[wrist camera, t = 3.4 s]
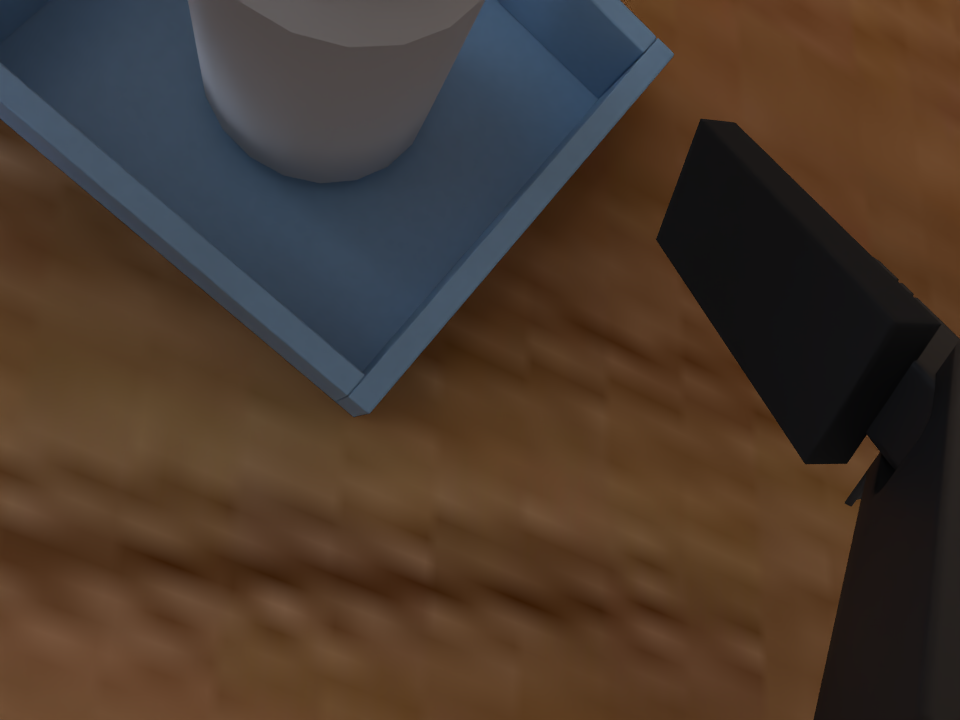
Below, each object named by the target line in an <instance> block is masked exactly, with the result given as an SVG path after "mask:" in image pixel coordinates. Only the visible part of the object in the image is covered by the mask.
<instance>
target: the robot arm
mask: <svg viewBox="0 0 960 720" xmlns="http://www.w3.org/2000/svg"><path fill="white" fill-rule="evenodd" d="M656 240H657V242H658V243H659V245H660V246H661V248H662V249H663V251H664V252H665V254H666V255H667V257H668V258H669V260H670V261H671V263H672V264H673V266H674V267H675V269H676V270H677V272H678V273H679V275H680V276H681V278H682V279H683V281H684V282H685V284H686V285H687V287H688V288H689V290H690V291H691V293H692V294H693V296H694V297H695V299H696V300H697V302H698V303H699V305H700V306H701V308H702V310H703V311H704V313H705V314H706V316H707V317H708V319H709V320H710V322H711V323H712V325H713V326H714V328H715V329H716V331H717V332H718V334H719V335H720V337H721V338H722V340H723V341H724V343H725V344H726V346H727V347H728V349H729V350H730V352H731V353H732V355H733V356H734V358H735V359H736V361H737V362H738V364H739V365H740V367H741V368H742V370H743V371H744V373H745V374H746V376H747V377H748V379H749V380H750V382H751V383H752V385H753V386H754V388H755V389H756V391H757V392H758V394H759V395H760V397H761V398H762V400H763V401H764V403H765V404H766V406H767V407H768V409H769V410H770V412H771V413H772V415H773V416H774V418H775V419H776V421H777V422H778V424H779V425H780V427H781V428H782V430H783V431H784V433H785V434H786V436H787V437H788V439H789V440H790V442H791V443H792V445H793V446H794V448H795V449H796V451H797V453H798V454H799V456H800V457H801V459H802V460H803V462H804V463H805V464H847V463H848V461H849V460H850V458H851V457H852V456H853V454H854V453H855V451H856V450H857V448H858V447H859V445H860V444H861V442H862V441H863V439H864V438H865V436H866V435H868V437H869V438H870V439H871V440H872V442H873V443H874V444H875V446H876V447H877V448H878V450H879V451H880V453H879V454H878V456H877V457H876V459H875V460H874V462H873V463H872V464H871V466H870V467H869V469H868V470H867V471H866V473H865V474H864V476H863V477H862V478H861V480H860V481H859V483H858V484H857V486H856V487H855V488H854V490H853V491H852V493H851V494H850V495H849V497H848V498H847V500H846V501H845V504H847V505H849V506H852V505H853V504H854V502H855V501H856V500H857V499H861V503H860V507H859V512H858V516H857V521H856V526H855V530H854V535H853V540H852V544H851V549H850V553H849V558H848V563H847V567H846V572H845V577H844V581H843V586H842V590H841V595H840V600H839V604H838V609H837V614H836V618H835V623H834V627H833V632H832V637H831V641H830V646H829V651H828V655H827V660H826V664H825V669H824V674H823V678H822V683H821V688H820V692H819V697H818V702H817V706H816V711H815V715H814V720H960V339H959V338H958V337H957V336H956V335H955V334H954V333H953V332H952V331H951V330H950V329H949V328H948V327H947V326H946V325H945V324H944V323H943V322H942V321H941V320H940V319H939V318H938V317H937V316H936V315H935V314H934V313H932V312H931V311H930V310H929V309H928V308H927V307H926V306H925V305H924V304H923V303H922V302H921V301H920V300H919V299H918V298H914V297H913V295H914V294H913V293H912V292H911V291H910V290H909V289H908V288H907V287H906V286H905V285H904V284H903V283H899V282H898V280H899V279H898V278H897V277H895V276H894V275H893V274H892V273H891V272H890V271H889V270H888V269H887V268H886V267H885V266H884V265H883V264H882V263H881V262H880V261H878V260H877V259H875V258H874V257H872V256H871V255H870V254H869V253H868V252H867V251H866V250H865V249H864V248H863V247H862V246H861V245H860V244H859V243H858V242H857V241H856V240H855V239H854V238H853V237H852V236H851V235H850V234H849V233H847V232H846V231H845V230H844V229H843V228H842V227H841V226H840V225H839V224H838V223H837V222H836V221H835V220H834V219H833V218H832V217H831V216H830V215H829V214H828V213H827V212H826V211H825V210H824V209H823V208H822V207H821V206H820V205H819V204H818V203H817V202H816V201H815V200H814V199H813V198H812V197H811V196H810V195H809V194H808V193H807V192H806V191H805V190H804V189H802V188H801V187H800V186H799V185H798V184H797V183H796V182H795V181H794V180H793V179H792V178H791V177H790V176H789V175H788V174H787V173H786V172H785V171H784V170H783V169H782V168H781V167H780V166H779V165H778V164H777V163H776V162H775V161H774V160H773V159H772V158H771V157H770V156H769V155H768V154H767V153H766V152H765V151H764V150H763V149H762V148H761V147H760V146H759V145H757V144H756V143H755V142H754V141H753V140H752V139H751V138H750V137H749V136H748V135H747V134H746V133H745V132H744V131H743V130H742V129H741V128H740V127H739V126H738V125H737V124H736V123H734V122H725V121H717V120H708V119H700V122H699V125H698V127H697V130H696V133H695V136H694V138H693V141H692V144H691V146H690V149H689V152H688V154H687V157H686V160H685V163H684V165H683V168H682V171H681V173H680V176H679V179H678V182H677V184H676V187H675V190H674V192H673V195H672V198H671V200H670V203H669V206H668V209H667V211H666V214H665V217H664V219H663V222H662V225H661V228H660V230H659V233H658V236H657V238H656Z"/></svg>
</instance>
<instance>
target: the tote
mask: <svg viewBox="0 0 960 720" xmlns="http://www.w3.org/2000/svg"><path fill="white" fill-rule="evenodd" d="M673 56H674V53H673V52H672V51H671V50H670V49H669V48H668V47H667V46H666V45H665V44H664V43H663V42H662V41H661V40H660V39H656V36H655V35H654V34H653V33H652V32H651V31H650V30H649V29H648V28H647V27H646V26H645V25H644V24H643V23H642V22H641V21H640V20H639V19H638V18H637V17H636V16H635V15H634V14H633V13H632V12H631V11H630V10H629V9H628V8H627V7H626V6H625V5H624V4H623V3H622V2H621V1H620V0H485V2H484V4H483V6H482V8H481V10H480V12H479V14H478V16H477V18H476V20H475V22H474V24H473V26H472V28H471V30H470V32H469V34H468V36H467V38H466V40H465V42H464V44H463V46H462V48H461V50H460V52H459V54H458V56H457V58H456V60H455V62H454V64H453V66H452V68H451V70H450V72H449V74H448V76H447V78H446V80H445V82H444V84H443V86H442V88H441V90H440V91H439V93H438V95H437V97H436V99H435V101H434V103H433V105H432V107H431V109H430V111H429V113H428V115H427V117H426V119H425V121H424V123H423V125H422V127H421V129H420V130H419V132H418V134H417V136H416V138H415V140H414V142H413V144H412V145H411V146H410V147H409V148H408V149H407V150H405V151H404V152H403V153H402V154H401V155H400V156H399V157H398V158H397V159H396V160H394V161H393V162H392V163H391V164H390V165H389V166H388V167H386V168H383V169H381V170H379V171H376V172H374V173H372V174H369V175H367V176H365V177H362V178H360V179H358V180H353V181H341V182H330V183H316V182H312V181H307V180H302V179H298V178H293V177H289V176H284V175H282V174H280V173H278V172H276V171H275V170H273V169H271V168H269V167H267V166H266V165H264V164H262V163H260V162H258V161H256V160H255V159H253V158H251V157H249V156H248V154H247V153H246V152H245V151H244V150H243V149H242V148H241V147H240V146H239V145H238V144H237V143H236V142H235V141H234V140H233V139H232V138H231V137H230V136H229V135H228V134H227V133H226V132H225V131H224V130H223V129H222V127H221V125H220V123H219V121H218V119H217V117H216V115H215V113H214V111H213V109H212V107H211V106H210V104H209V102H208V100H207V98H206V96H205V90H204V85H203V80H202V74H201V69H200V63H199V58H198V53H197V47H196V42H195V37H194V31H193V26H192V20H191V15H190V10H189V4H188V0H0V119H1V120H2V121H4V122H5V123H6V124H7V125H8V126H9V127H11V128H12V129H13V130H14V131H15V132H17V133H18V134H19V135H20V136H21V137H22V138H24V139H25V140H26V141H27V142H28V143H30V144H31V145H32V146H33V147H34V148H36V149H37V150H38V151H39V152H40V153H41V154H43V155H44V156H45V157H46V158H47V159H49V160H50V161H51V162H52V163H53V164H54V165H56V166H57V167H58V168H59V169H60V170H62V171H63V172H64V173H65V174H66V175H67V176H69V177H70V178H71V179H72V180H73V181H75V182H76V183H77V184H78V185H79V186H81V187H82V188H83V189H84V190H85V191H86V192H88V193H89V194H90V195H91V196H92V197H94V198H95V199H96V200H97V201H98V202H99V203H101V204H102V205H103V206H104V207H105V208H107V209H108V210H109V211H110V212H111V213H113V214H114V215H115V216H116V217H117V218H118V219H120V220H121V221H122V222H123V223H124V224H126V225H127V226H128V227H129V228H130V229H131V230H133V231H134V232H135V233H136V234H137V235H139V236H140V237H141V238H142V239H143V240H144V241H146V242H147V243H148V244H149V245H150V246H152V247H153V248H154V249H155V250H156V251H158V252H159V253H160V254H161V255H162V256H163V257H165V258H166V259H167V260H168V261H169V262H171V263H172V264H173V265H174V266H175V267H176V268H178V269H179V270H180V271H181V272H182V273H184V274H185V275H186V276H187V277H188V278H190V279H191V280H192V281H193V282H194V283H195V284H197V285H198V286H199V287H200V288H201V289H203V290H204V291H205V292H206V293H207V294H208V295H210V296H211V297H212V298H213V299H214V300H216V301H217V302H218V303H219V304H220V305H221V306H223V307H224V308H225V309H226V310H227V311H229V312H230V313H231V314H232V315H233V316H235V317H236V318H237V319H238V320H239V321H240V322H242V323H243V324H244V325H245V326H246V327H248V328H249V329H250V330H251V331H252V332H253V333H255V334H256V335H257V336H258V337H259V338H261V339H262V340H263V341H264V342H265V343H267V344H268V345H269V346H270V347H271V348H272V349H274V350H275V351H276V352H277V353H278V354H280V355H281V356H282V357H283V358H284V359H285V360H287V361H288V362H289V363H290V364H291V365H293V366H294V367H295V368H296V369H297V370H298V371H300V372H301V373H302V374H303V375H304V376H306V377H307V378H308V379H309V380H310V381H312V382H313V383H314V384H315V385H316V386H317V387H319V388H320V389H321V390H322V391H323V392H325V393H326V394H327V395H328V396H329V397H330V398H332V399H333V400H334V401H335V402H336V403H338V404H339V405H340V406H341V407H342V408H344V409H345V410H346V411H347V412H348V413H349V414H351V415H352V416H353V417H356V416H360V415H365V414H369V413H371V412H372V410H373V409H374V408H375V407H376V406H377V404H378V403H379V402H380V401H381V400H382V399H383V397H384V396H385V395H386V394H387V393H388V392H389V390H390V389H391V388H392V387H393V386H394V384H395V383H396V382H397V381H398V380H399V379H400V377H401V376H402V375H403V374H404V373H405V372H406V370H407V369H408V368H409V367H410V366H411V364H412V363H413V362H414V361H415V360H416V359H417V357H418V356H419V355H420V354H421V353H422V352H423V350H424V349H425V348H426V347H427V346H428V344H429V343H430V342H431V341H432V340H433V339H434V337H435V336H436V335H437V334H438V333H439V332H440V330H441V329H442V328H443V327H444V326H445V324H446V323H447V322H448V321H449V320H450V319H451V317H452V316H453V315H454V314H455V313H456V312H457V310H458V309H459V308H460V307H461V306H462V304H463V303H464V302H465V301H466V300H467V299H468V297H469V296H470V295H471V294H472V293H473V292H474V290H475V289H476V288H477V287H478V286H479V284H480V283H481V282H482V281H483V280H484V279H485V277H486V276H487V275H488V274H489V273H490V272H491V270H492V269H493V268H494V267H495V266H496V264H497V263H498V262H499V261H500V260H501V259H502V257H503V256H504V255H505V254H506V253H507V252H508V250H509V249H510V248H511V247H512V246H513V244H514V243H515V242H516V241H517V240H518V239H519V237H520V236H521V235H522V234H523V233H524V232H525V230H526V229H527V228H528V227H529V226H530V224H531V223H532V222H533V221H534V220H535V219H536V217H537V216H538V215H539V214H540V213H541V212H542V210H543V209H544V208H545V207H546V206H547V204H548V203H549V202H550V201H551V200H552V199H553V197H554V196H555V195H556V194H557V193H558V192H559V190H560V189H561V188H562V187H563V186H564V184H565V183H566V182H567V181H568V180H569V179H570V177H571V176H572V175H573V174H574V173H575V172H576V170H577V169H578V168H579V167H580V166H581V164H582V163H583V162H584V161H585V160H586V159H587V157H588V156H589V155H590V154H591V153H592V152H593V150H594V149H595V148H596V147H597V146H598V144H599V143H600V142H601V141H602V140H603V139H604V137H605V136H606V135H607V134H608V133H609V132H610V130H611V129H612V128H613V127H614V126H615V124H616V123H617V122H618V121H619V120H620V119H621V117H622V116H623V115H624V114H625V113H626V112H627V110H628V109H629V108H630V107H631V106H632V104H633V103H634V102H635V101H636V100H637V99H638V97H639V96H640V95H641V94H642V93H643V92H644V90H645V89H646V88H647V87H648V86H649V85H650V83H651V82H652V81H653V80H654V79H655V77H656V76H657V75H658V74H659V73H660V72H661V70H662V69H663V68H664V67H665V66H666V65H667V63H668V62H669V61H670V60H671V59H672V57H673Z"/></svg>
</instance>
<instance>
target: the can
mask: <svg viewBox="0 0 960 720" xmlns="http://www.w3.org/2000/svg"><path fill="white" fill-rule="evenodd" d="M484 2H485V0H188V4H189V10H190V15H191V20H192V26H193V31H194V37H195V42H196V47H197V53H198V58H199V63H200V69H201V74H202V80H203V85H204V90H205V96H206V98H207V100H208V102H209V104H210V106H211V107H212V109H213V111H214V113H215V115H216V117H217V119H218V121H219V123H220V125H221V127H222V129H223V130H224V131H225V132H226V133H227V134H228V135H229V136H230V137H231V138H232V139H233V140H234V141H235V142H236V143H237V144H238V145H239V146H240V147H241V148H242V149H243V150H244V151H245V152H246V153H247V154H248V156H249V157H251V158H253V159H255V160H256V161H258V162H260V163H262V164H264V165H266V166H267V167H269V168H271V169H273V170H275V171H276V172H278V173H280V174H282V175H284V176H289V177H293V178H298V179H302V180H307V181H312V182H316V183H330V182H341V181H353V180H358V179H360V178H362V177H365V176H367V175H369V174H372V173H374V172H376V171H379V170H381V169H383V168H386V167H388V166H389V165H390V164H391V163H392V162H393V161H394V160H396V159H397V158H398V157H399V156H400V155H401V154H402V153H403V152H404V151H405V150H407V149H408V148H409V147H410V146H411V145H412V144H413V142H414V140H415V138H416V136H417V134H418V132H419V130H420V129H421V127H422V125H423V123H424V121H425V119H426V117H427V115H428V113H429V111H430V109H431V107H432V105H433V103H434V101H435V99H436V97H437V95H438V93H439V91H440V90H441V88H442V86H443V84H444V82H445V80H446V78H447V76H448V74H449V72H450V70H451V68H452V66H453V64H454V62H455V60H456V58H457V56H458V54H459V52H460V50H461V48H462V46H463V44H464V42H465V40H466V38H467V36H468V34H469V32H470V30H471V28H472V26H473V24H474V22H475V20H476V18H477V16H478V14H479V12H480V10H481V8H482V6H483V4H484Z"/></svg>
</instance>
